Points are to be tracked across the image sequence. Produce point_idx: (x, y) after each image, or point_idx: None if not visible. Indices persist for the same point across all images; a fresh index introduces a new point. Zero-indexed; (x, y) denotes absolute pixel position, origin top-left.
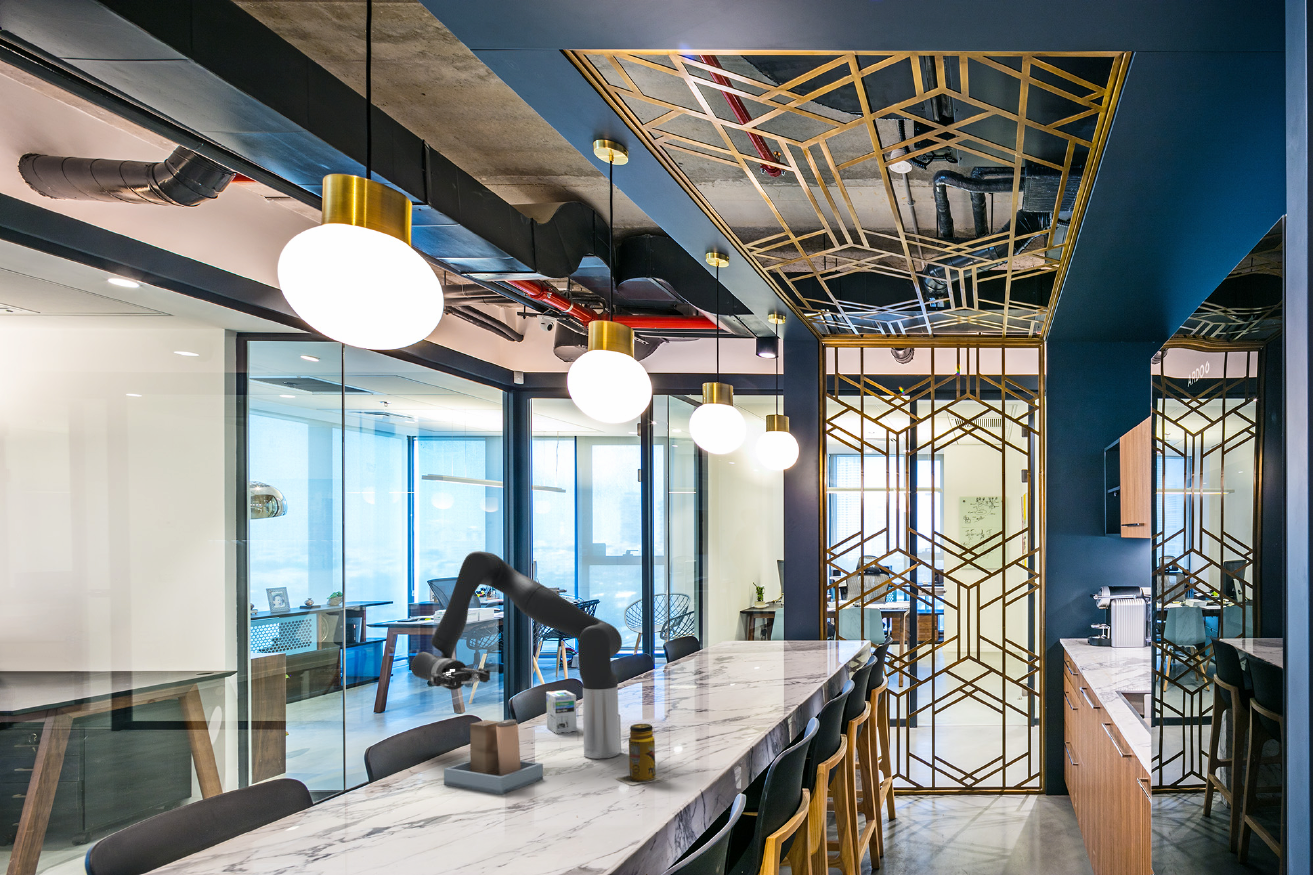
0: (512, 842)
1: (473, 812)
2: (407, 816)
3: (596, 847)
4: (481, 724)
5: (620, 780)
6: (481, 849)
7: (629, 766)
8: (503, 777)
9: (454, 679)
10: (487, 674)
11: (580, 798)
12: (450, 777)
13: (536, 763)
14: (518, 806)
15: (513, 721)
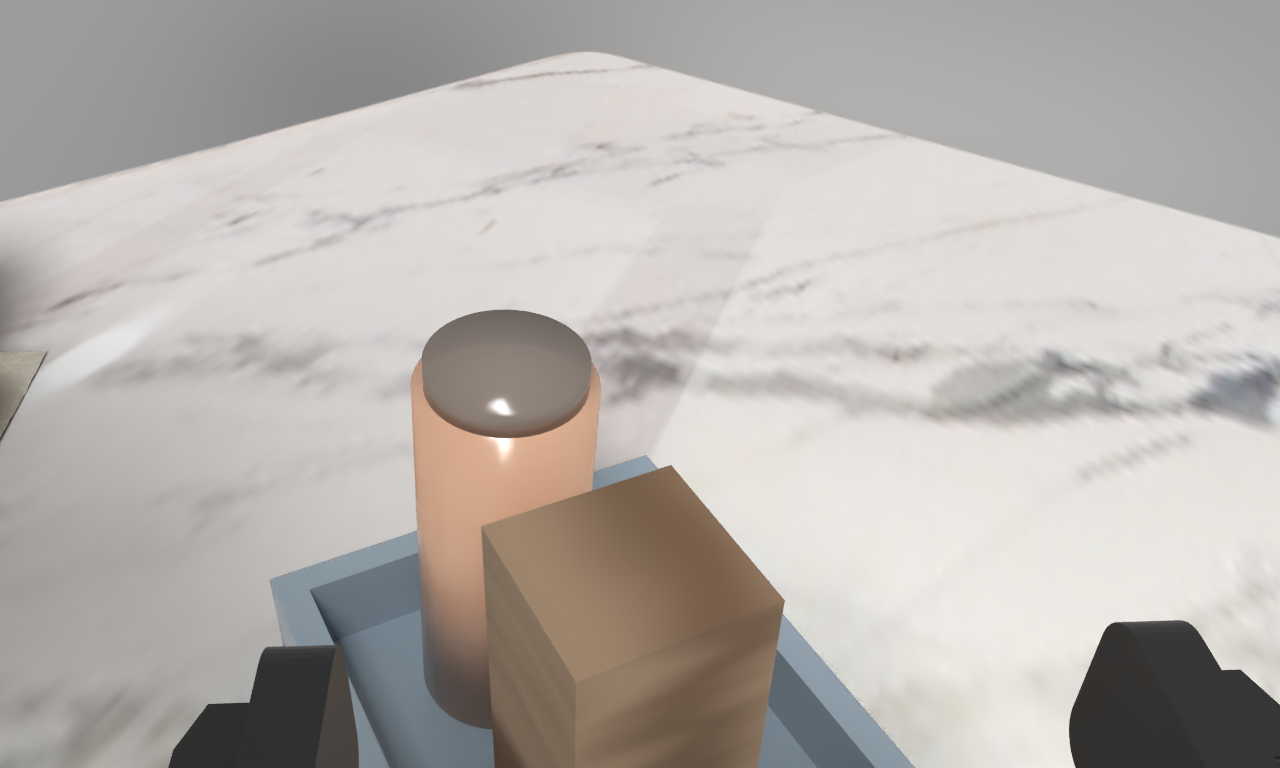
0: (764, 174)
1: (832, 391)
2: (1137, 471)
3: (574, 96)
4: (686, 525)
5: (4, 423)
6: (860, 174)
7: None
8: (628, 461)
9: (1110, 636)
10: (267, 653)
11: (353, 334)
12: None
13: (301, 601)
14: (631, 368)
15: (471, 320)
